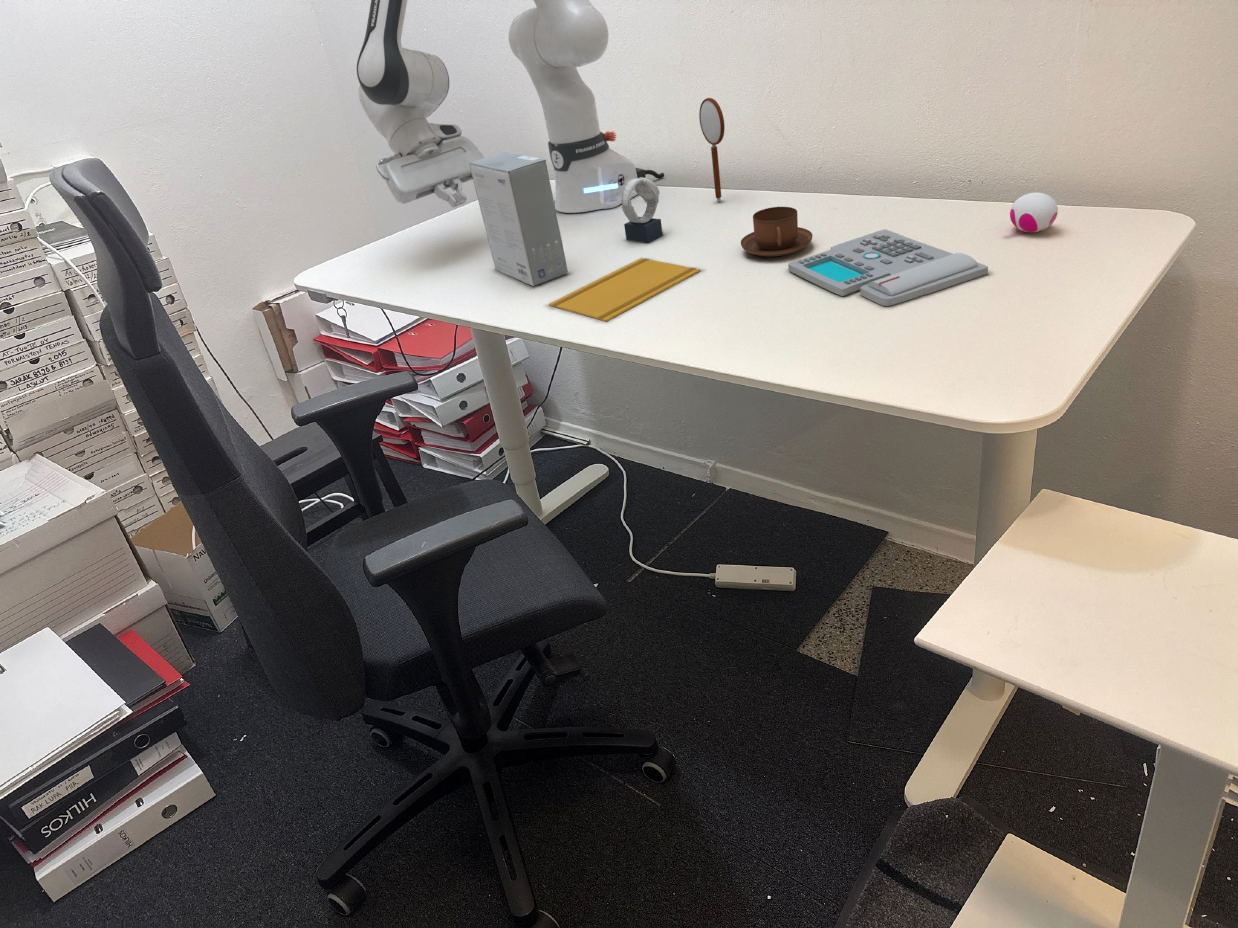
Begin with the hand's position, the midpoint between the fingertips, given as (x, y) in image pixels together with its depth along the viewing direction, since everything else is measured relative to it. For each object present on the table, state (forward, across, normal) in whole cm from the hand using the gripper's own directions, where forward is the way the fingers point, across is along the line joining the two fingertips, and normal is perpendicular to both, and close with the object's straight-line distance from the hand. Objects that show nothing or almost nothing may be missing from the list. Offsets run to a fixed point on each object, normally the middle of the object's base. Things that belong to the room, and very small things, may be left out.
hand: (460, 203), depth 156 cm
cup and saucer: (+46, +26, -30) cm, 61 cm away
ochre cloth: (+37, +2, -21) cm, 42 cm away
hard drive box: (+21, 0, -5) cm, 21 cm away
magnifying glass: (+26, +44, -10) cm, 52 cm away
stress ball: (+69, +48, -54) cm, 100 cm away
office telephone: (+61, +24, -45) cm, 79 cm away
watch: (+26, +22, -10) cm, 36 cm away
